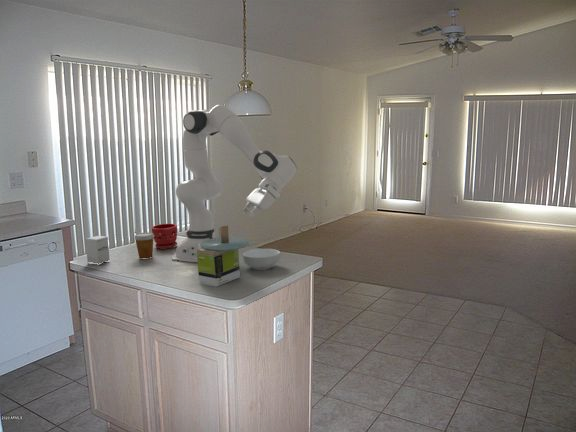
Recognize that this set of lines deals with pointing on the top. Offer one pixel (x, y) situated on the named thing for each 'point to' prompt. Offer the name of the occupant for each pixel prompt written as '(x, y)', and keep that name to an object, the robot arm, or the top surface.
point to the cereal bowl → (261, 258)
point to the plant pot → (165, 235)
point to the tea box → (217, 266)
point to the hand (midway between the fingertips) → (247, 213)
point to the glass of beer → (144, 244)
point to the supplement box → (97, 249)
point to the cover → (224, 241)
